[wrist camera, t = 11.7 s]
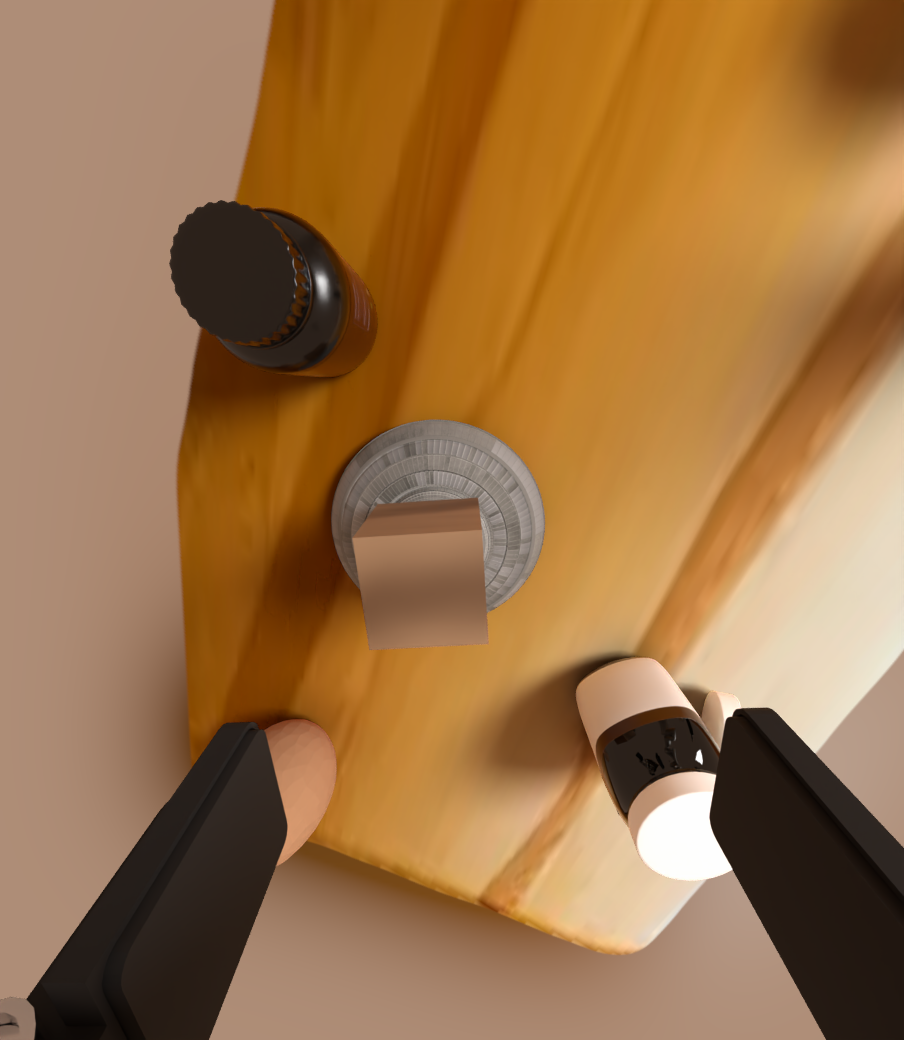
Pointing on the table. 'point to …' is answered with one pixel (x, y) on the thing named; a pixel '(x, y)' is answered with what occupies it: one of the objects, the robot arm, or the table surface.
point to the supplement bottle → (272, 290)
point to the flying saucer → (447, 494)
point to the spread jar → (658, 762)
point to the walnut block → (423, 574)
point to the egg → (302, 777)
